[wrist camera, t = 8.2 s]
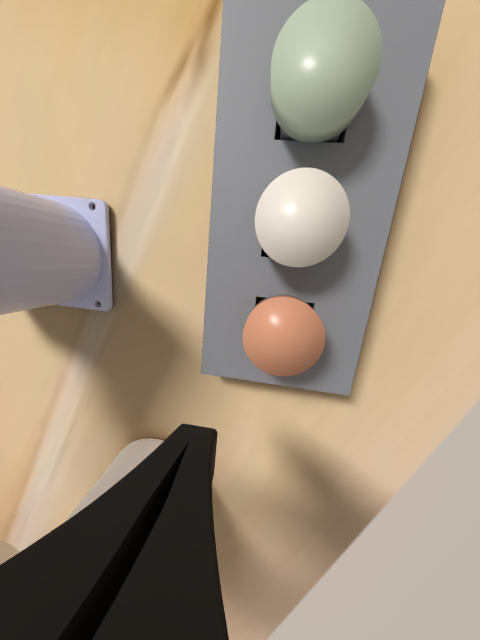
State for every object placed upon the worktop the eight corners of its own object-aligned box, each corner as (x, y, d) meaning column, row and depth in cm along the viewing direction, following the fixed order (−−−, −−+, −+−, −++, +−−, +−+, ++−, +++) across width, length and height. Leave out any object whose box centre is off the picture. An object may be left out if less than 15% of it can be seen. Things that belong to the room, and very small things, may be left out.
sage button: (266, 163, 14) (264, 123, 10) (275, 76, 13) (278, -8, 9) (339, 167, 14) (368, 128, 10) (355, 78, 13) (395, -9, 9)
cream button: (255, 262, 16) (250, 262, 12) (263, 191, 15) (260, 164, 11) (320, 269, 16) (339, 271, 11) (333, 196, 14) (359, 170, 10)
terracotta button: (246, 344, 17) (238, 370, 13) (252, 286, 16) (246, 294, 12) (305, 352, 17) (317, 381, 13) (316, 293, 16) (332, 303, 12)
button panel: (338, 377, 18) (349, 395, 15) (209, 359, 19) (200, 373, 16) (413, 45, 13) (446, -6, 10) (231, 43, 14) (223, -4, 11)
